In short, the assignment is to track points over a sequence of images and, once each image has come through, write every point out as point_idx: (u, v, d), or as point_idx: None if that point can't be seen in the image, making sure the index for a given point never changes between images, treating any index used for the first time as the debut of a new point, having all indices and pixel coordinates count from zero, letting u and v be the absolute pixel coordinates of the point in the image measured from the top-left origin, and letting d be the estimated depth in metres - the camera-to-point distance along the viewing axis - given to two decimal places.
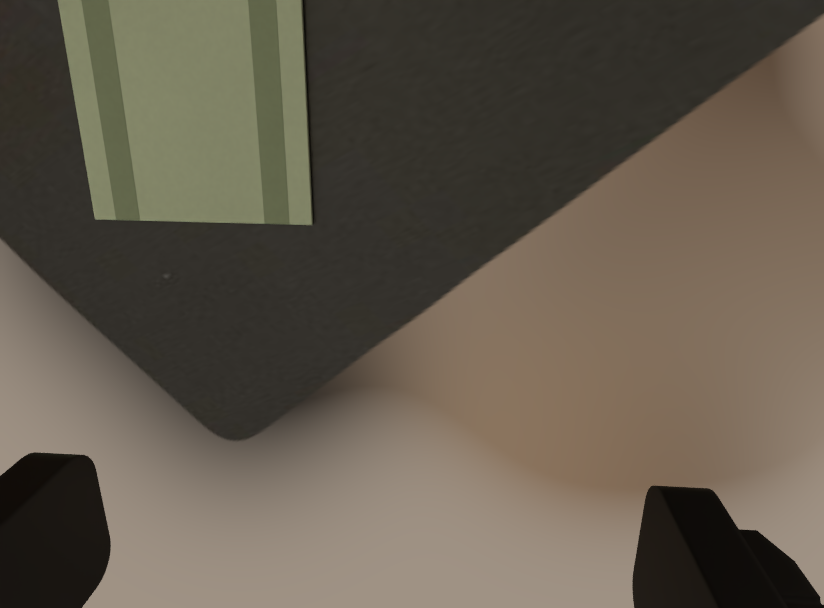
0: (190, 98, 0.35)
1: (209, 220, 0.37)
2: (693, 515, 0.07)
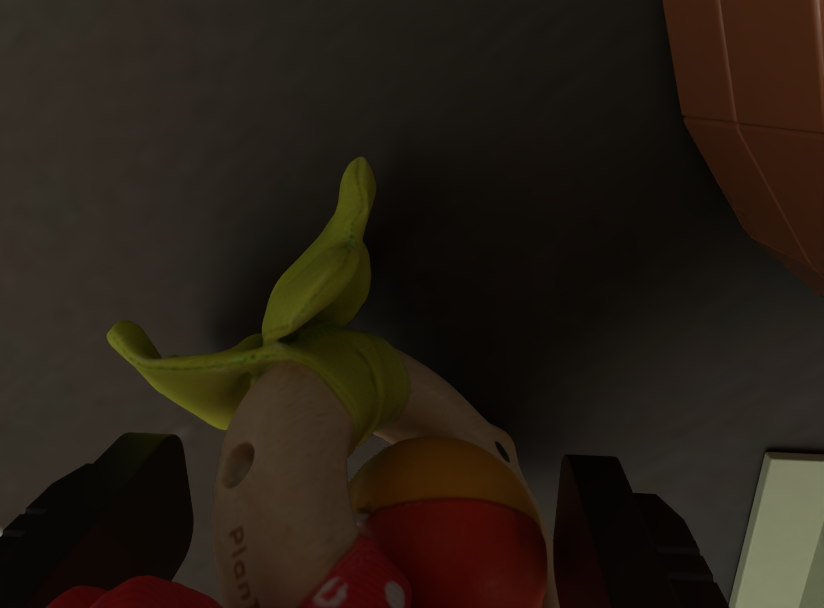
0: None
1: None
2: (593, 478, 0.08)
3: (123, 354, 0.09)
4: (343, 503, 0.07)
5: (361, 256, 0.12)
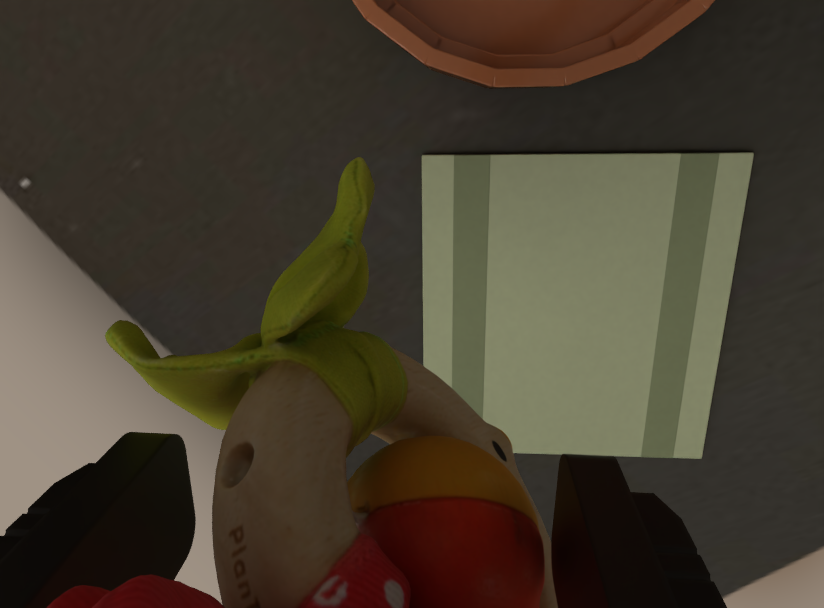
0: (573, 321, 0.28)
1: (570, 453, 0.30)
2: (591, 477, 0.08)
3: (122, 354, 0.09)
4: (342, 502, 0.07)
5: (359, 256, 0.12)
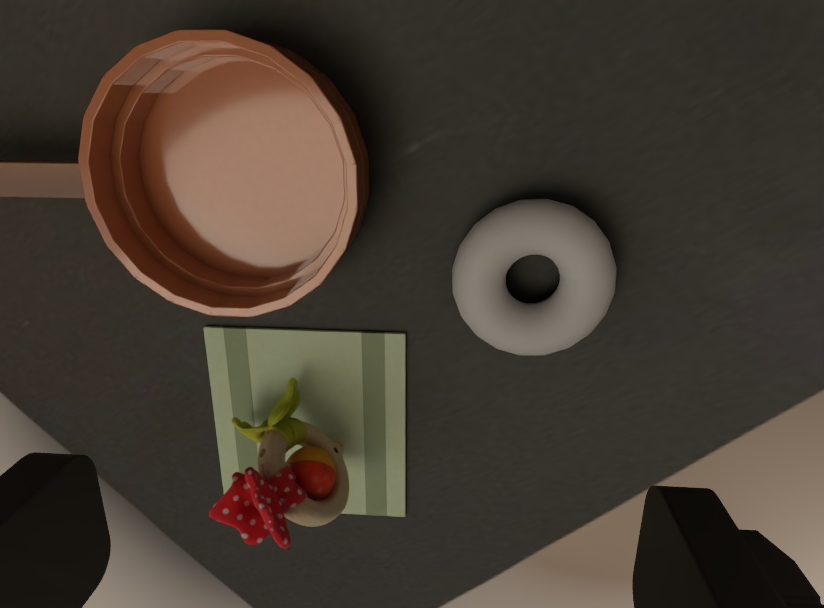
0: None
1: None
2: (693, 515, 0.07)
3: (236, 427, 0.39)
4: (283, 460, 0.37)
5: (296, 395, 0.42)
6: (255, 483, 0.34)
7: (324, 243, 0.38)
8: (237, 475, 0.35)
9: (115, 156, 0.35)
